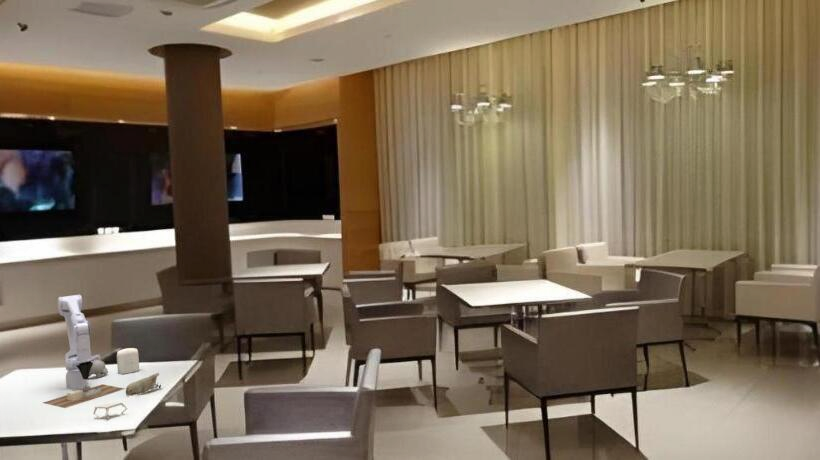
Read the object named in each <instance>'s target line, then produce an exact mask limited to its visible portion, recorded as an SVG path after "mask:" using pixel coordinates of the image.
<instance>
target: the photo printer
mask: <svg viewBox="0 0 820 460" xmlns="http://www.w3.org/2000/svg"><path fill="white" fill-rule="evenodd" d="M139 356H140V355H139V351H138V349H137V348H135V347H128V348H127V347H126V348H123V349H120V350H118V351H117V353H116V365H117V375H125V374H130V373H131V374H132V373H137V372H140V359H139V358H140V357H139Z"/></svg>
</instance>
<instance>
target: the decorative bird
mask: <svg viewBox="0 0 820 460" xmlns="http://www.w3.org/2000/svg"><path fill="white" fill-rule="evenodd" d="M159 376H160V372H157V373H153V374H152V375H149V376H148V377H144V378H141V379H138V380H136V381H134V382H130V383H129V384H128V385H127V386H126V388H125V394H126V396H127V398H129V397H130V396H131V395H132V394H144V393H145V392H148V391H150V390H152V389H154V387H155V386H156V387H155V388H156V389H159V390H162V388H161V386H162V385H161V384H162V383H160V384H159V382H157V380H158V379H157V377H159Z"/></svg>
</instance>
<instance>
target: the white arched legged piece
mask: <svg viewBox="0 0 820 460" xmlns="http://www.w3.org/2000/svg"><path fill="white" fill-rule="evenodd" d="M118 406H122V407H124V410H123V411H122V412H120V414H121V415H122V416H123V415H124V412H125V411H126V410H128V407H127V406H126V405H125V404H124V403H123V402H112V403H110V402H109V403H104V404H100V405H97V406H94V410H93V415H95V416H96V419H97V418H99V415H98V414H96V412H97V410H98V409H105V416H106V417H107V418H106V420H107V419H108V420H110V419H111V416H110V415H109V410H110V409H112V408H116V407H118Z"/></svg>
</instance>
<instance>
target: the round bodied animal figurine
mask: <svg viewBox="0 0 820 460" xmlns="http://www.w3.org/2000/svg"><path fill="white" fill-rule="evenodd" d="M92 362H93V365H92V367H91V370H90V373H89V377H91V376H92V375H95V376H96V378H97V379H100V378H102V377H103V376H106V375H107V374H109V370H108V368H106V363H105V361H103V360H101V359H100V360H94V361H92Z"/></svg>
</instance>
